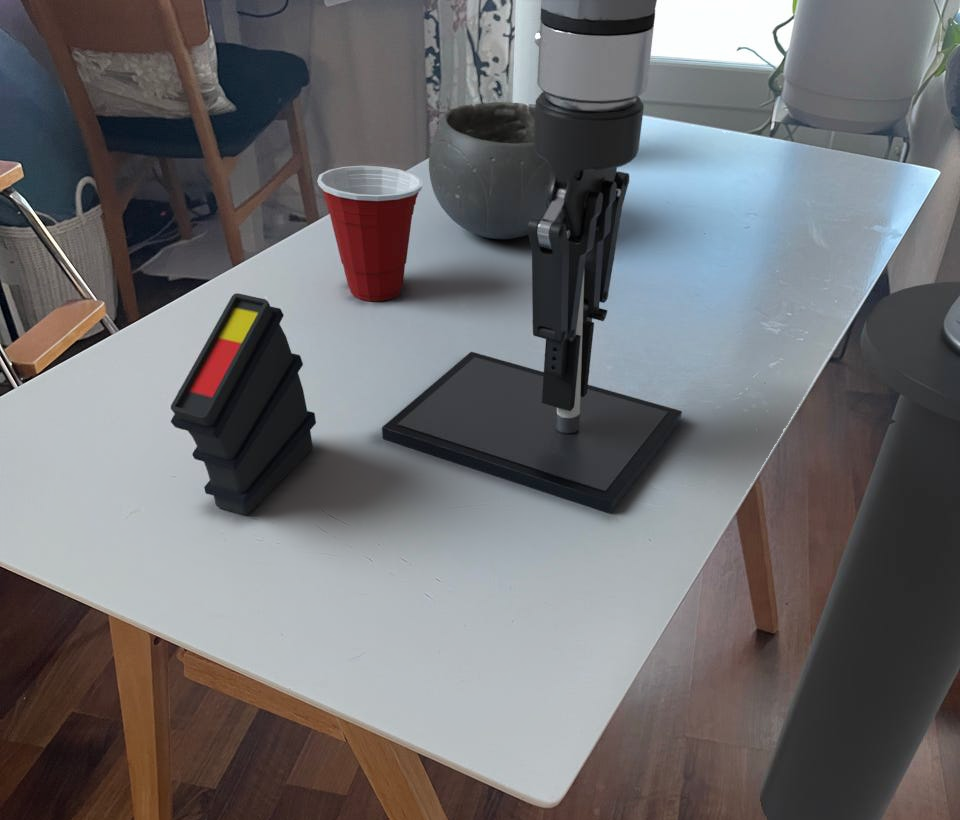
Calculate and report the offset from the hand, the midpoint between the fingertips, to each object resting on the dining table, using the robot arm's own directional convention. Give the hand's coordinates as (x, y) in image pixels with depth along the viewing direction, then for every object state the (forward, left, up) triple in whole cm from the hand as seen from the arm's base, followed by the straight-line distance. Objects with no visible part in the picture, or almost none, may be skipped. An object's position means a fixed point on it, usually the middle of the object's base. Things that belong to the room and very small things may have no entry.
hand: (564, 397), depth 83 cm
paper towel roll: (+35, -63, -4) cm, 72 cm away
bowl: (+27, -39, -4) cm, 48 cm away
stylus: (-1, 0, -3) cm, 3 cm away
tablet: (+3, 0, -4) cm, 5 cm away
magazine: (+19, +19, -4) cm, 27 cm away
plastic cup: (+31, -17, -4) cm, 35 cm away
